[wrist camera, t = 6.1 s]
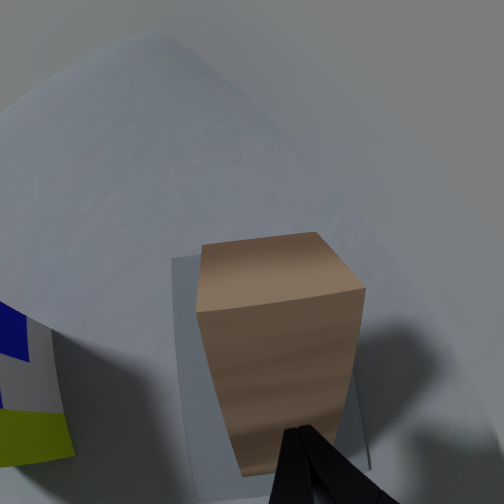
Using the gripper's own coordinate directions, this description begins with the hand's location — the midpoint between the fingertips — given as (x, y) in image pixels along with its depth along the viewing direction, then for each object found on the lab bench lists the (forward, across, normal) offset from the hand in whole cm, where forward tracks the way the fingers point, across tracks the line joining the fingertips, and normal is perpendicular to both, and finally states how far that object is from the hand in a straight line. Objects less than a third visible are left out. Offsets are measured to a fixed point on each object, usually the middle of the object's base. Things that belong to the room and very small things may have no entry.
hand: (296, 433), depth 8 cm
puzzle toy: (+8, +20, +6) cm, 22 cm away
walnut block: (+4, 0, +6) cm, 8 cm away
